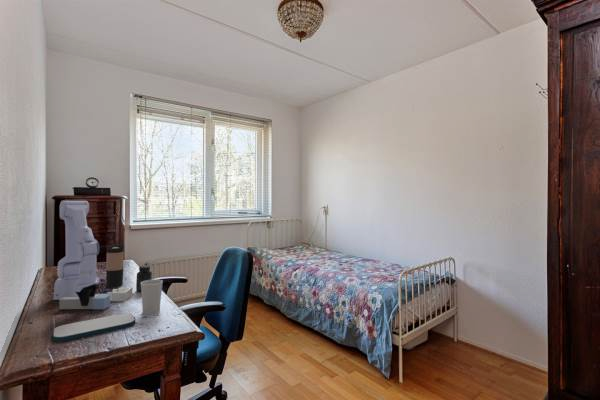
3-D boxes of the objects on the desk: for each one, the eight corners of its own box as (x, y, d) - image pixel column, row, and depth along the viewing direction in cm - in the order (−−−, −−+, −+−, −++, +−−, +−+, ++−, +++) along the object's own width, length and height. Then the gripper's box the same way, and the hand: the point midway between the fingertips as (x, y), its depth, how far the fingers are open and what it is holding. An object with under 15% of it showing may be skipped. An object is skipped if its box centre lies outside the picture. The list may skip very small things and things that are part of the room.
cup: (140, 316, 117) (140, 285, 117) (140, 309, 124) (140, 280, 124) (162, 313, 121) (163, 283, 121) (161, 307, 128) (162, 278, 128)
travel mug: (102, 286, 155) (103, 247, 155) (116, 283, 162) (117, 245, 162) (112, 288, 152) (113, 248, 152) (126, 284, 159) (127, 246, 159)
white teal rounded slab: (52, 345, 94) (52, 339, 94) (53, 332, 103) (53, 326, 103) (137, 326, 109) (137, 321, 109) (131, 316, 118) (131, 311, 118)
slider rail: (74, 301, 132) (74, 293, 132) (86, 295, 141) (86, 287, 141) (124, 301, 134) (124, 292, 134) (133, 294, 143) (133, 287, 143)
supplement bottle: (145, 293, 146) (145, 268, 146) (132, 292, 147) (133, 267, 147) (154, 289, 153) (155, 265, 153) (142, 288, 154) (143, 264, 154)
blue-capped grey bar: (57, 310, 121) (58, 298, 121) (65, 306, 126) (65, 295, 126) (104, 309, 123) (104, 298, 123) (110, 305, 128) (110, 294, 128)
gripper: (87, 275, 118) (87, 310, 118) (107, 267, 132) (106, 298, 132) (68, 275, 117) (67, 310, 117) (90, 267, 132) (89, 298, 132)
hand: (87, 304), depth 125 cm, fingers closed on blue-capped grey bar, 3 cm apart
